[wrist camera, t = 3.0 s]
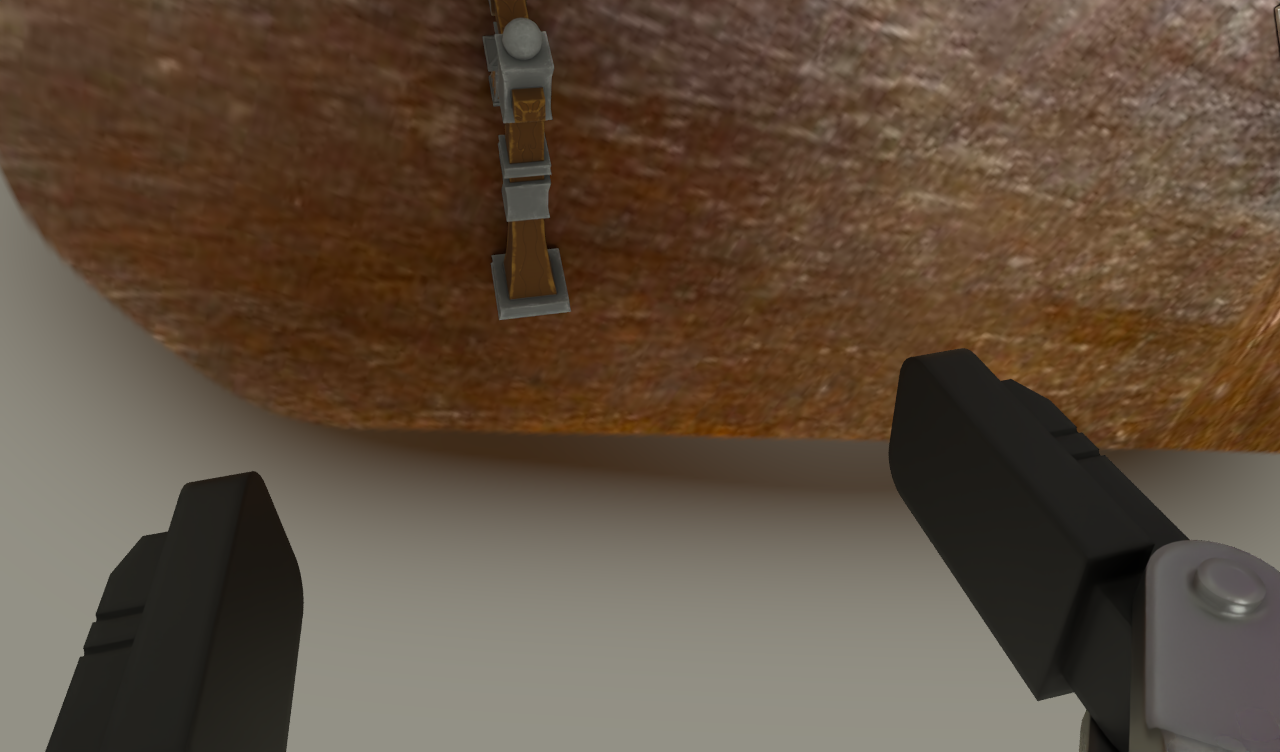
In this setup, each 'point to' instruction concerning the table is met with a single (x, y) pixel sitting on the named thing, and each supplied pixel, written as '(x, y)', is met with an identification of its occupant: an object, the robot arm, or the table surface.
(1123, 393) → the table surface
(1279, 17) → the figurine
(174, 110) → the table surface
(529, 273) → the wooden post with brackets
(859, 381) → the table surface
